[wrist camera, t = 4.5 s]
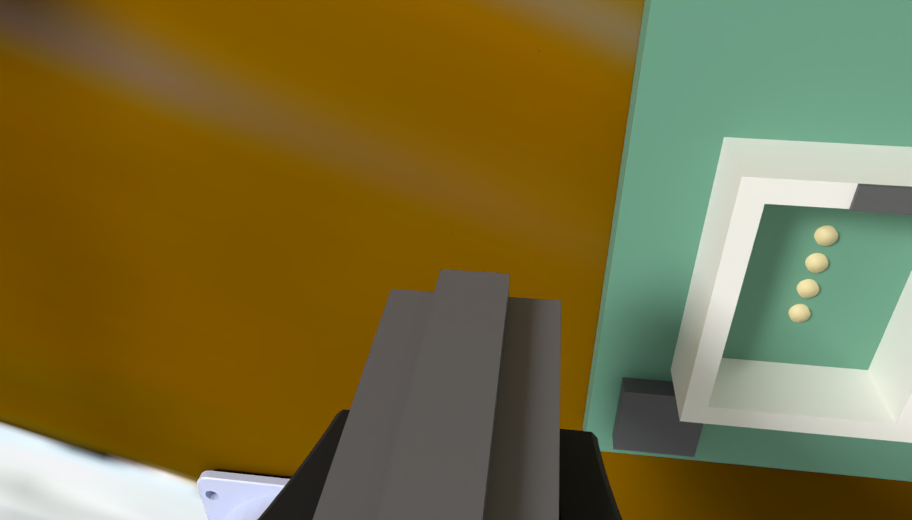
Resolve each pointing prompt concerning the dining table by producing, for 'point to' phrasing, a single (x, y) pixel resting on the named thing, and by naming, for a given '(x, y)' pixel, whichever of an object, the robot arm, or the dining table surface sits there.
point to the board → (763, 241)
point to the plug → (454, 409)
